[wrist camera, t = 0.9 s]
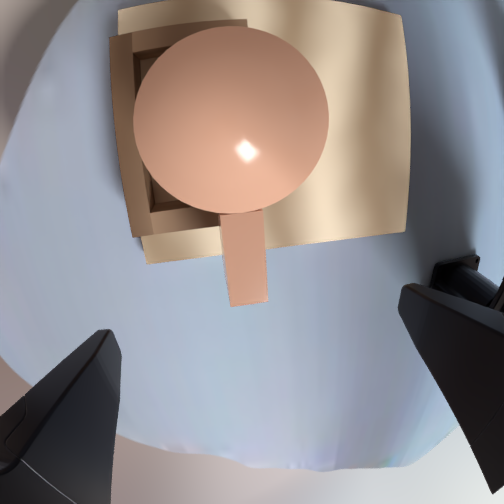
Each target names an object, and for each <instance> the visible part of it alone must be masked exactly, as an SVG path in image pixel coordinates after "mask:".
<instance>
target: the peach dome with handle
mask: <svg viewBox="0 0 504 504" xmlns="http://www.w3.org/2000/svg"><path fill="white" fill-rule="evenodd" d="M133 126H134V135H135V141H136V145H137V148H138V151H139V154H140V156H141V158H142V160H143V162H144V164H145V166H146V168H147V169H148V171H149V172H150V174H151V175H152V177H153V178H154V179H155V180H156V181H157V182H158V183H159V185H160V186H161V187H163V188H164V189H165V190H166V191H167V192H168V193H170V194H171V195H172V196H174V197H176V198H177V199H179V200H180V201H182V202H184V203H186V204H188V205H190V206H193V207H196V208H199V209H202V210H205V211H210V212H215V213H217V214H218V223H219V232H220V240H221V249H222V257H223V265H224V272H225V278H226V284H227V289H228V295H229V300H230V305H231V307H234V306H241V305H248V304H255V303H262V302H268V289H267V270H266V252H265V234H264V217H263V210H262V208H265V207H267V206H269V205H272V204H274V203H276V202H278V201H280V200H281V199H283V198H285V197H286V196H288V195H289V194H290V193H292V192H293V191H294V190H296V189H297V188H298V187H299V186H300V185H301V184H302V183H303V182H304V181H305V180H306V179H307V177H308V176H309V175H310V174H311V172H312V171H313V169H314V168H315V166H316V164H317V163H318V161H319V159H320V157H321V154H322V152H323V150H324V147H325V143H326V140H327V134H328V128H329V110H328V102H327V98H326V94H325V91H324V88H323V85H322V83H321V80H320V79H319V77H318V75H317V73H316V71H315V70H314V68H313V67H312V66H311V64H310V63H309V62H308V60H307V59H306V58H305V57H304V56H303V55H302V54H301V53H300V52H299V51H298V50H297V49H295V48H294V47H293V46H292V45H290V44H289V43H288V42H286V41H284V40H282V39H281V38H279V37H277V36H275V35H273V34H270V33H268V32H265V31H262V30H258V29H254V28H249V27H242V26H224V27H215V28H211V29H207V30H203V31H200V32H197V33H194V34H192V35H189V36H187V37H186V38H184V39H182V40H180V41H178V42H177V43H175V44H174V45H173V46H171V47H170V48H169V49H167V50H166V51H165V52H164V53H163V54H162V55H161V56H160V57H159V58H158V59H157V60H156V61H155V63H154V64H153V65H152V66H151V68H150V69H149V71H148V72H147V74H146V76H145V77H144V79H143V81H142V83H141V86H140V88H139V91H138V94H137V98H136V102H135V106H134V115H133Z"/></svg>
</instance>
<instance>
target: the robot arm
mask: <svg viewBox="0 0 504 504" xmlns="http://www.w3.org/2000/svg"><path fill="white" fill-rule="evenodd" d="M479 262H480V257H479V256H478V255H472V256H467V257H463V258H458V259H454V260H449V261H445V262H440V263H437V264H436V266H435V268H434V272H433V277H432V281H431V286H430V288H428V287H425V286H422V285H419V284H416V283H411V284H406V285H404V286H403V287H402V289H401V294H400V299H399V304H398V311H399V314H400V316H401V318H402V320H403V322H404V324H405V326H406V328H407V330H408V332H409V334H410V337H411V339H412V341H413V343H414V345H415V347H416V349H417V350H418V352H419V354H420V356H421V357H422V359H423V360H424V362H425V364H426V365H427V367H428V369H429V371H430V372H431V374H432V376H433V377H434V379H435V381H436V383H437V384H438V386H439V388H440V390H441V391H442V393H443V395H444V397H445V399H446V400H447V402H448V404H449V406H450V408H451V410H452V411H453V413H454V415H455V417H456V419H457V421H458V423H459V425H460V426H461V428H462V430H463V432H464V434H465V436H466V438H467V440H468V443H469V444H470V447H471V449H472V451H473V453H474V455H475V457H476V459H477V462H478V464H479V466H480V468H481V470H482V473H483V475H484V477H485V480H486V482H487V484H488V486H489V489H490V491H491V493H492V494H494V493H496V492H497V491H498V490H499V489H500V488H502V487H503V486H504V277H503V279H502V280H503V281H502V283H501V285H500V287H498V286H497V285H495V284H494V283H493V282H491V281H490V280H489V279H487V278H486V277H485V276H483V275H482V274H480V273H479V272H478V271H477V270H478V266H479ZM439 268H440V269H439ZM121 359H122V356H121V351H120V348H119V346H118V343H117V341H116V338H115V336H114V333H113V332H112V330H110V329H104V330H98V331H96V332H95V333H94V334H93V335H92V336H91V337H89V338H88V339H87V340H86V341H85V342H84V343H82V344H81V345H80V346H79V347H78V348H77V349H75V350H74V351H73V352H72V353H71V354H70V355H69V356H67V357H66V358H65V359H64V360H63V361H62V362H61V363H59V364H58V365H57V366H56V367H55V368H54V369H53V370H51V371H50V372H49V373H48V374H47V375H46V376H45V377H44V378H42V379H41V380H40V381H39V382H38V383H37V384H36V385H35V386H34V387H32V388H31V389H30V390H29V391H28V392H27V393H26V394H25V396H23V397H21V398H20V399H19V400H18V401H17V402H16V403H15V404H14V405H13V406H12V407H10V408H9V409H8V410H7V411H6V412H5V413H4V414H2V415H1V416H0V504H110V503H111V482H112V467H113V466H112V465H113V454H114V445H115V435H116V426H117V418H118V411H119V402H120V380H121Z"/></svg>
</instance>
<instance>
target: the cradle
mask: <svg viewBox="0 0 504 504" xmlns="http://www.w3.org/2000/svg"><path fill="white" fill-rule="evenodd" d="M224 26H242V27H249V28H254V29H258V30H262V31H265V32H268V33H270V34H273V35H275V36H277V37H279V38H281V39H282V40H284V41H286V42H288V43H289V44H290V45H292V46H293V47H294V48H295V49H297V50H298V51H299V52H300V53H301V54H302V55H303V56H304V57H305V58H306V59H307V60H308V62H309V63H310V64H311V66H312V67H313V68H314V70H315V71H316V73H317V75H318V77H319V79H320V80H321V83H322V85H323V88H324V91H325V94H326V98H327V102H328V110H329V128H328V134H327V140H326V143H325V147H324V150H323V152H322V154H321V157H320V159H319V161H318V163H317V164H316V166H315V168H314V169H313V171H312V172H311V174H310V175H309V176H308V177H307V179H306V180H305V181H304V182H303V183H302V184H301V185H300V186H299V187H298V188H297V189H296V190H294V191H293V192H292V193H290V194H289V195H288V196H286V197H285V198H283V199H281V200H280V201H278V202H276V203H274V204H272V205H269V206H267V207H265V208H262V210H263V217H264V234H265V249H271V248H279V247H287V246H295V245H303V244H311V243H319V242H327V241H335V240H343V239H351V238H358V237H366V236H374V235H382V234H390V233H398V232H405V227H406V217H407V206H408V194H409V177H410V148H411V121H410V93H409V78H408V66H407V55H406V47H405V39H404V31H403V25H402V18H401V15H397V14H393V13H390V12H386V11H382V10H378V9H374V8H369V7H365V6H360V5H355V4H350V3H344V2H338V1H332V0H167V1H160V2H154V3H149V4H144V5H139V6H134V7H129V8H125V9H121V10H118V35H117V36H113V37H109V39H110V73H111V90H112V103H113V114H114V124H115V133H116V142H117V150H118V157H119V164H120V171H121V178H122V184H123V190H124V196H125V201H126V207H127V212H128V217H129V222H130V227H131V232H132V237H133V238H134V237H141V240H142V245H143V249H144V254H145V258H146V263H147V264H154V263H161V262H169V261H177V260H185V259H193V258H201V257H209V256H216V255H222V249H221V240H220V232H219V223H218V214H217V213H215V212H210V211H205V210H202V209H199V208H196V207H193V206H190V205H188V204H186V203H184V202H182V201H180V200H179V199H177V198H176V197H174V196H172V195H171V194H170V193H168V192H167V191H166V190H165V189H164V188H163V187H161V186H160V185H159V183H158V182H157V181H156V180H155V179H154V178H153V177H152V175H151V174H150V172H149V171H148V169H147V168H146V166H145V164H144V162H143V160H142V158H141V156H140V154H139V151H138V148H137V145H136V141H135V135H134V126H133V115H134V106H135V102H136V98H137V94H138V91H139V88H140V86H141V83H142V81H143V79H144V77H145V76H146V74H147V72H148V71H149V69H150V68H151V66H152V65H153V64H154V63H155V61H156V60H157V59H158V58H159V57H160V56H161V55H162V54H163V53H164V52H165V51H166V50H167V49H169V48H170V47H171V46H173V45H174V44H175V43H177V42H178V41H180V40H182V39H184V38H186V37H187V36H189V35H192V34H194V33H197V32H200V31H203V30H207V29H211V28H215V27H224Z"/></svg>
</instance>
